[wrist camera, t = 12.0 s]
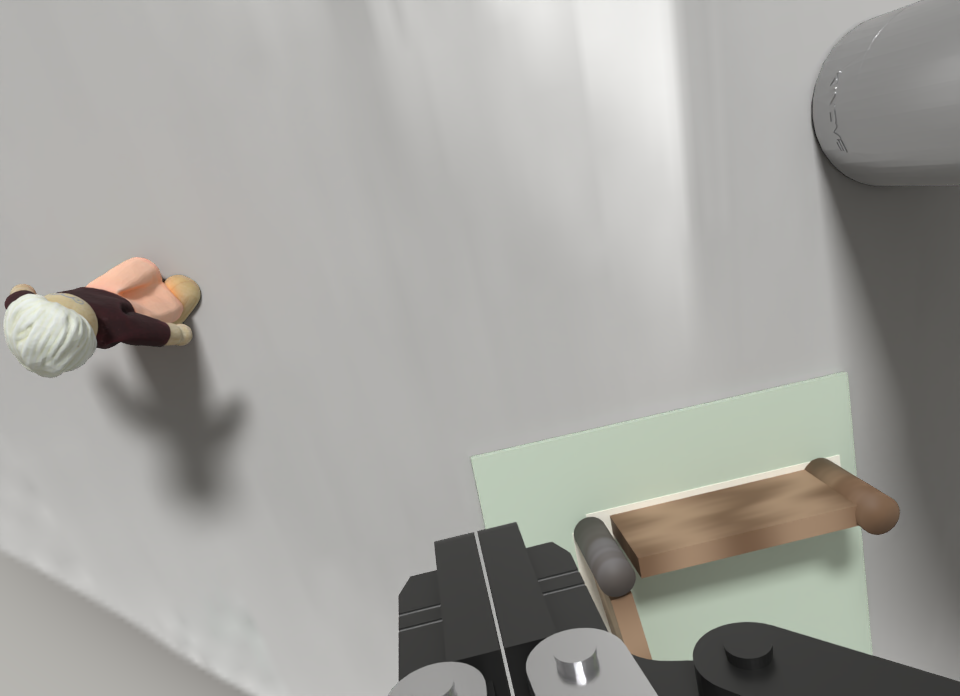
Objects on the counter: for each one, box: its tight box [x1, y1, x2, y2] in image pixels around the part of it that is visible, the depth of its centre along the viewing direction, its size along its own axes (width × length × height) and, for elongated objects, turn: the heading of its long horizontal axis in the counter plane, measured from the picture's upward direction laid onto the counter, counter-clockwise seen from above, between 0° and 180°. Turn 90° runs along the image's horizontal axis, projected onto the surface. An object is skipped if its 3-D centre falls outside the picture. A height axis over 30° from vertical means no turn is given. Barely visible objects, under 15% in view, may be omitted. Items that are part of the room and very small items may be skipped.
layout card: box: [470, 372, 872, 661], centre depth 46 cm, size 23×21×1 cm
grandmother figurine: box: [3, 257, 200, 378], centre depth 33 cm, size 8×4×13 cm, turn 85°
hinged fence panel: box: [574, 517, 652, 660], centre depth 43 cm, size 16×2×6 cm, turn 18°
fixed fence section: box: [610, 458, 900, 578], centre depth 42 cm, size 14×2×6 cm, turn 101°
